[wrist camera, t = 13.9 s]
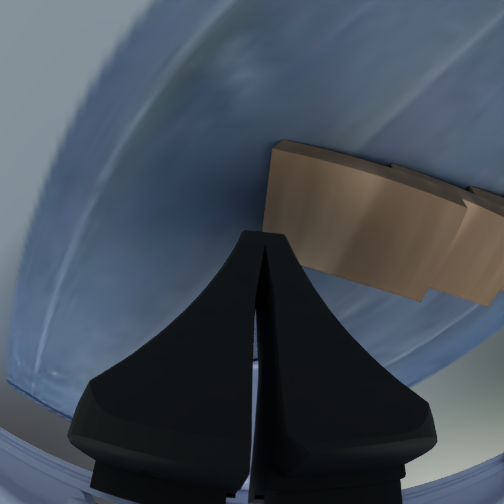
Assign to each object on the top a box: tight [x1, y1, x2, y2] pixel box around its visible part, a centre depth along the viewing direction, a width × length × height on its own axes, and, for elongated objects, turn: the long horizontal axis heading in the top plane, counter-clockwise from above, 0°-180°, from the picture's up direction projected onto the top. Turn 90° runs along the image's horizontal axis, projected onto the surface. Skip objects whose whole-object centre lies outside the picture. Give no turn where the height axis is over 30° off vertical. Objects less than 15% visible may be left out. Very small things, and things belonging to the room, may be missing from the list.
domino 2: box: [391, 163, 504, 307], centre depth 12 cm, size 2×5×8 cm
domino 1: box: [262, 140, 468, 302], centre depth 12 cm, size 2×5×8 cm
